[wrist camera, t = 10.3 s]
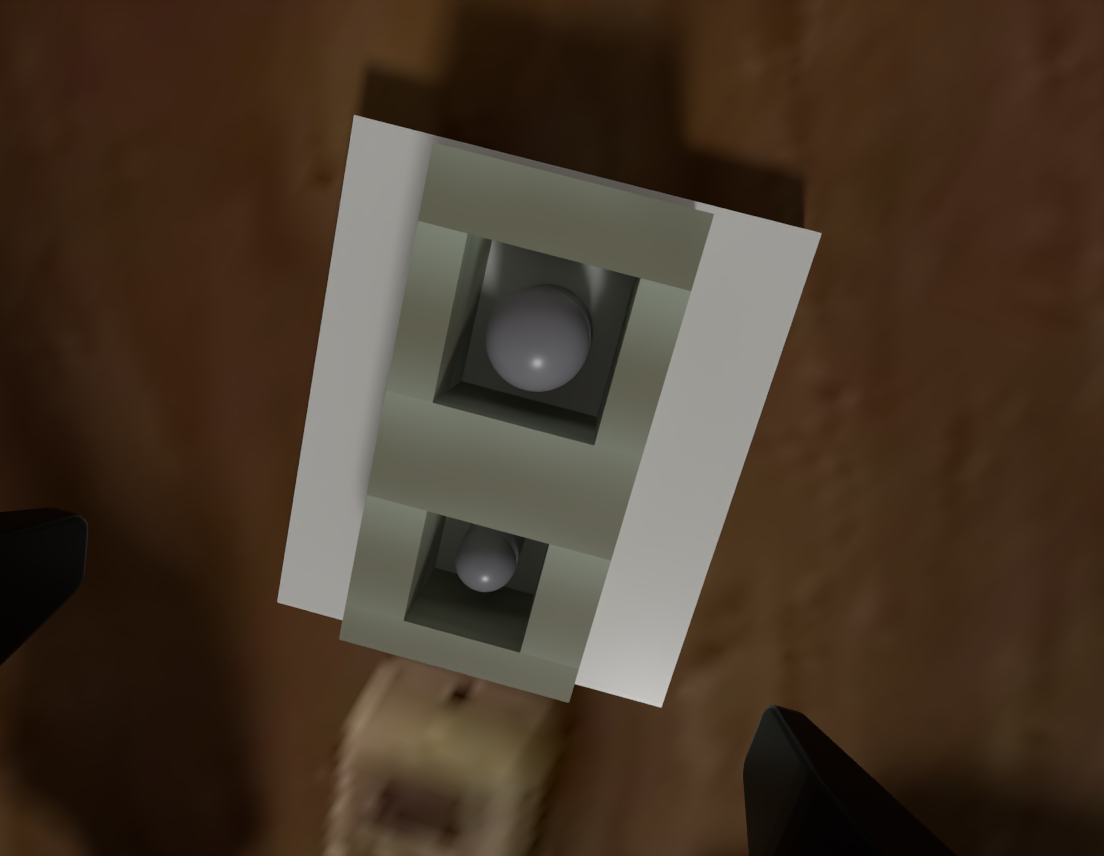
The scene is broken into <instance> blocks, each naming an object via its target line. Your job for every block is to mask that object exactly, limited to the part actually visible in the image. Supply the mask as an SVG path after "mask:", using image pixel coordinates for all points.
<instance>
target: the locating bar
mask: <svg viewBox="0 0 1104 856" xmlns="http://www.w3.org/2000/svg"><path fill="white" fill-rule="evenodd" d="M713 216H714V214H712V213H708V212H704V211H700V210H696V209H692V208H688V207H685V206H681V205H677V204H673V203H669V202H665V201H661V200H657V199H653V198H649V197H645V196H641V195H637V194H633V193H630V192H626V191H622V190H618V189H614V188H610V187H606V186H602V185H598V184H594V183H590V182H586V181H582V180H578V179H575V178H571V177H567V176H563V175H559V174H555V173H551V172H547V171H543V170H539V169H535V168H531V167H527V166H523V165H520V164H516V163H512V162H508V161H504V160H500V159H496V158H492V157H488V156H484V155H480V154H476V153H472V152H468V151H465V150H461V149H457V148H453V147H449V146H445V145H441V144H437V143H433V144H432V149H431V154H430V160H429V165H428V170H427V176H426V181H425V186H424V192H423V197H422V202H421V207H420V213H419V218H418V223H417V229H416V234H415V239H414V245H413V250H412V255H411V260H410V266H409V271H408V276H407V282H406V287H405V292H404V298H403V303H402V308H401V313H400V319H399V324H398V329H397V335H396V340H395V345H394V351H393V356H392V361H391V367H390V372H389V377H388V382H387V388H386V393H385V398H384V404H383V409H382V414H381V420H380V425H379V430H378V435H377V441H376V446H375V451H374V457H373V462H372V467H371V473H370V478H369V483H368V488H367V494H366V499H365V504H364V510H363V515H362V520H361V526H360V531H359V536H358V541H357V547H356V552H355V557H354V563H353V568H352V573H351V579H350V584H349V589H348V594H347V600H346V605H345V610H344V616H343V621H342V626H341V632H340V637H339V640H343V641H347V642H350V643H354V644H357V645H361V646H365V647H368V648H372V649H376V650H379V651H383V652H386V653H390V654H394V655H397V656H401V657H405V658H408V659H412V660H415V661H419V662H423V663H426V664H430V665H434V666H437V667H441V668H444V669H448V670H452V671H455V672H459V673H463V674H466V675H470V676H473V677H477V678H481V679H484V680H488V681H492V682H495V683H499V684H502V685H506V686H510V687H513V688H517V689H521V690H524V691H528V692H531V693H535V694H539V695H542V696H546V697H550V698H553V699H557V700H560V701H564V702H568V703H569V701H570V697H571V694H572V691H573V687H574V684H575V681H576V677H577V674H578V670H579V667H580V664H581V660H582V657H583V654H584V650H585V647H586V644H587V640H588V637H589V633H590V630H591V627H592V623H593V620H594V617H595V613H596V610H597V607H598V603H599V600H600V596H601V593H602V590H603V586H604V583H605V580H606V576H607V573H608V570H609V566H610V563H611V559H612V556H613V553H614V549H615V546H616V543H617V539H618V536H619V533H620V529H621V526H622V522H623V519H624V516H625V512H626V509H627V506H628V502H629V499H630V496H631V492H632V489H633V485H634V482H635V479H636V475H637V472H638V469H639V465H640V462H641V459H642V455H643V452H644V448H645V445H646V442H647V438H648V435H649V432H650V428H651V425H652V422H653V418H654V415H655V411H656V408H657V405H658V401H659V398H660V395H661V391H662V388H663V385H664V381H665V378H666V374H667V371H668V368H669V364H670V361H671V358H672V354H673V351H674V348H675V344H676V341H677V337H678V334H679V331H680V327H681V324H682V321H683V317H684V314H685V311H686V307H687V304H688V300H689V297H690V294H691V290H692V287H693V284H694V280H695V277H696V274H697V270H698V267H699V263H700V260H701V257H702V253H703V250H704V247H705V243H706V240H707V237H708V233H709V230H710V226H711V223H712V220H713ZM492 240H494V241H498V242H502V243H506V244H510V245H514V246H518V247H521V248H525V249H529V250H533V251H537V252H541V253H545V254H549V255H552V256H556V257H560V258H564V259H568V260H572V261H576V262H580V263H584V264H587V265H591V266H595V267H599V268H603V269H607V270H611V271H615V272H618V273H622V274H626V275H630V276H634V277H635V281H634V285H633V288H632V292H631V295H630V299H629V303H628V306H627V310H626V314H625V317H624V321H623V325H622V328H621V332H620V336H619V339H618V343H617V346H616V350H615V354H614V357H613V361H612V365H611V368H610V372H609V376H608V379H607V383H606V386H605V390H604V394H603V397H602V401H601V405H600V408H599V412H598V416H597V417H596V416H592V415H588V414H584V413H580V412H577V411H573V410H569V409H565V408H561V407H558V406H554V405H550V404H546V403H543V402H539V401H535V400H531V399H527V398H524V397H520V396H516V395H512V394H508V393H505V392H501V391H497V390H493V389H489V388H486V387H482V386H478V385H474V384H471V383H467V382H463V381H462V377H463V372H464V368H465V363H466V358H467V354H468V349H469V345H470V340H471V335H472V331H473V326H474V322H475V317H476V313H477V308H478V303H479V299H480V294H481V290H482V285H483V280H484V276H485V271H486V267H487V262H488V257H489V253H490V248H491V244H492ZM446 516H447V517H451V518H455V519H458V520H462V521H466V522H469V523H473V524H477V525H481V526H484V527H488V528H492V529H495V530H499V531H503V532H506V533H510V534H514V535H518V536H521V537H525V538H529V539H532V540H536V541H540V542H544V543H547V544H548V545H547V548H546V552H545V556H544V559H543V563H542V567H541V571H540V574H539V578H538V582H537V585H536V589H535V593H534V595H533V594H529V593H526V592H522V591H518V590H515V589H511V588H507V587H504V586H503V587H501V588H500V589H498V590H495V591H491V592H479V591H476V590H473V589H471V588H469V587H468V586H467V585H465V584H464V583H463V582H462V580H461V579H460V577H459V576H458V574H456V573H452V572H449V571H445V570H441V569H438V568H435V565H436V561H437V556H438V552H439V547H440V543H441V538H442V534H443V529H444V525H445V520H446Z"/></svg>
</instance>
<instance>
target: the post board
mask: <svg viewBox="0 0 1104 856" xmlns="http://www.w3.org/2000/svg"><path fill="white" fill-rule="evenodd" d="M433 143H437V144H441V145H445V146H449V147H453V148H457V149H461V150H465V151H468V152H472V153H476V154H480V155H484V156H488V157H492V158H496V159H500V160H504V161H508V162H512V163H516V164H520V165H523V166H527V167H531V168H535V169H539V170H543V171H547V172H551V173H555V174H559V175H563V176H567V177H571V178H575V179H578V180H582V181H586V182H590V183H594V184H598V185H602V186H606V187H610V188H614V189H618V190H622V191H626V192H630V193H633V194H637V195H641V196H645V197H649V198H653V199H657V200H661V201H665V202H669V203H673V204H677V205H681V206H685V207H688V208H692V209H696V210H700V211H704V212H708V213H712V214H714V216H713V220H712V223H711V226H710V230H709V233H708V237H707V240H706V243H705V247H704V250H703V253H702V257H701V260H700V263H699V267H698V270H697V274H696V277H695V280H694V284H693V287H692V290H691V294H690V297H689V300H688V304H687V307H686V311H685V314H684V317H683V321H682V324H681V327H680V331H679V334H678V337H677V341H676V344H675V348H674V351H673V354H672V358H671V361H670V364H669V368H668V371H667V374H666V378H665V381H664V385H663V388H662V391H661V395H660V398H659V401H658V405H657V408H656V411H655V415H654V418H653V422H652V425H651V428H650V432H649V435H648V438H647V442H646V445H645V448H644V452H643V455H642V459H641V462H640V465H639V469H638V472H637V475H636V479H635V482H634V485H633V489H632V492H631V496H630V499H629V502H628V506H627V509H626V512H625V516H624V519H623V522H622V526H621V529H620V533H619V536H618V539H617V543H616V546H615V549H614V553H613V556H612V559H611V563H610V566H609V570H608V573H607V576H606V580H605V583H604V586H603V590H602V593H601V596H600V600H599V603H598V607H597V610H596V613H595V617H594V620H593V623H592V627H591V630H590V633H589V637H588V640H587V644H586V647H585V650H584V654H583V657H582V660H581V664H580V667H579V670H578V674H577V677H576V681H575V684H577V685H581V686H584V687H588V688H592V689H595V690H599V691H603V692H606V693H610V694H614V695H617V696H621V697H625V698H628V699H632V700H635V701H639V702H643V703H646V704H650V705H654V706H657V707H662V704H663V701H664V698H665V695H666V692H667V689H668V686H669V683H670V680H671V677H672V674H673V671H674V668H675V666H676V663H677V660H678V657H679V654H680V651H681V648H682V645H683V642H684V639H685V636H686V633H687V630H688V627H689V624H690V621H691V618H692V615H693V612H694V609H695V606H696V603H697V601H698V598H699V595H700V592H701V589H702V586H703V583H704V580H705V577H706V574H707V571H708V568H709V565H710V562H711V559H712V556H713V553H714V550H715V547H716V544H717V541H718V538H719V535H720V533H721V530H722V527H723V524H724V521H725V518H726V515H727V512H728V509H729V506H730V503H731V500H732V497H733V494H734V491H735V488H736V485H737V482H738V479H739V476H740V473H741V470H742V467H743V465H744V462H745V459H746V456H747V453H748V450H749V447H750V444H751V441H752V438H753V435H754V432H755V429H756V426H757V423H758V420H759V417H760V414H761V411H762V408H763V405H764V402H765V399H766V397H767V394H768V391H769V388H770V385H771V382H772V379H773V376H774V373H775V370H776V367H777V364H778V361H779V358H780V355H781V352H782V349H783V346H784V343H785V340H786V337H787V334H788V331H789V329H790V326H791V323H792V320H793V317H794V314H795V311H796V308H797V305H798V302H799V299H800V296H801V293H802V290H803V287H804V284H805V281H806V278H807V275H808V272H809V269H810V266H811V264H812V261H813V258H814V255H815V252H816V249H817V246H818V243H819V240H820V237H821V234H822V233H819V232H815V231H811V230H807V229H803V228H799V227H795V226H791V225H787V224H783V223H779V222H775V221H771V220H767V219H763V218H759V217H755V216H751V215H748V214H744V213H740V212H736V211H732V210H728V209H724V208H720V207H716V206H712V205H708V204H704V203H700V202H696V201H692V200H688V199H684V198H680V197H676V196H672V195H668V194H665V193H661V192H657V191H653V190H649V189H645V188H641V187H637V186H633V185H629V184H625V183H621V182H617V181H613V180H609V179H605V178H601V177H597V176H593V175H589V174H586V173H582V172H578V171H574V170H570V169H566V168H562V167H558V166H554V165H550V164H546V163H542V162H538V161H534V160H530V159H526V158H522V157H518V156H514V155H510V154H506V153H503V152H499V151H495V150H491V149H487V148H483V147H479V146H475V145H471V144H467V143H463V142H459V141H455V140H451V139H447V138H443V137H439V136H435V135H431V134H427V133H424V132H420V131H416V130H412V129H408V128H404V127H400V126H396V125H392V124H388V123H384V122H380V121H376V120H372V119H368V118H364V117H360V116H356V115H354V119H353V125H352V132H351V138H350V144H349V151H348V157H347V163H346V170H345V176H344V182H343V189H342V195H341V201H340V208H339V214H338V220H337V227H336V233H335V239H334V246H333V252H332V258H331V265H330V271H329V277H328V284H327V290H326V296H325V303H324V309H323V315H322V322H321V328H320V334H319V341H318V347H317V353H316V360H315V366H314V372H313V379H312V385H311V391H310V398H309V404H308V410H307V417H306V423H305V429H304V436H303V442H302V448H301V455H300V461H299V467H298V474H297V480H296V486H295V493H294V499H293V505H292V512H291V518H290V525H289V531H288V537H287V544H286V550H285V556H284V563H283V569H282V575H281V582H280V588H279V594H278V601H277V602H278V603H282V604H285V605H289V606H292V607H296V608H300V609H303V610H307V611H311V612H314V613H318V614H322V615H325V616H329V617H333V618H336V619H340V620H343V616H344V610H345V605H346V600H347V594H348V589H349V584H350V579H351V573H352V568H353V563H354V557H355V552H356V547H357V541H358V536H359V531H360V526H361V520H362V515H363V510H364V504H365V499H366V494H367V488H368V483H369V478H370V473H371V467H372V462H373V457H374V451H375V446H376V441H377V435H378V430H379V425H380V420H381V414H382V409H383V404H384V398H385V393H386V388H387V382H388V377H389V372H390V367H391V361H392V356H393V351H394V345H395V340H396V335H397V329H398V324H399V319H400V313H401V308H402V303H403V298H404V292H405V287H406V282H407V276H408V271H409V266H410V260H411V255H412V250H413V245H414V239H415V234H416V229H417V223H418V218H419V213H420V207H421V202H422V197H423V192H424V186H425V181H426V176H427V170H428V165H429V160H430V154H431V149H432V144H433ZM634 281H635V277H634V276H630V275H626V274H622V273H618V272H615V271H611V270H607V269H603V268H599V267H595V266H591V265H587V264H584V263H580V262H576V261H572V260H568V259H564V258H560V257H556V256H552V255H549V254H545V253H541V252H537V251H533V250H529V249H525V248H521V247H518V246H514V245H510V244H506V243H502V242H498V241H494V240H492V244H491V248H490V253H489V257H488V262H487V267H486V271H485V276H484V280H483V285H482V290H481V294H480V299H479V303H478V308H477V313H476V317H475V322H474V326H473V331H472V335H471V340H470V345H469V349H468V354H467V358H466V363H465V368H464V372H463V377H462V381H463V382H467V383H471V384H474V385H478V386H482V387H486V388H489V389H493V390H497V391H501V392H505V393H508V394H512V395H516V396H520V397H524V398H527V399H531V400H535V401H539V402H543V403H546V404H550V405H554V406H558V407H561V408H565V409H569V410H573V411H577V412H580V413H584V414H588V415H592V416H596V417H597V416H598V412H599V408H600V405H601V401H602V397H603V394H604V390H605V386H606V383H607V379H608V376H609V372H610V368H611V365H612V361H613V357H614V354H615V350H616V346H617V343H618V339H619V336H620V332H621V328H622V325H623V321H624V317H625V314H626V310H627V306H628V303H629V299H630V295H631V292H632V288H633V285H634ZM547 545H548V544H547V543H544V542H540V541H536V540H532V539H529V538H525V537H521V536H518V535H514V534H510V533H506V532H503V531H499V530H495V529H492V528H488V527H484V526H481V525H477V524H473V523H469V522H466V521H462V520H458V519H455V518H451V517H447V516H446V520H445V525H444V529H443V534H442V538H441V543H440V547H439V552H438V556H437V561H436V565H435V568H438V569H441V570H445V571H449V572H452V573H456V574H458V576H459V577H460V579H461V580H462V582H463V583H464V584H465V585H467V586H468V587H469V588H471V589H473V590H476V591H479V592H491V591H495V590H498V589H500V588H501V587H503V586H504V587H507V588H511V589H515V590H518V591H522V592H526V593H529V594H533V595H534V593H535V589H536V585H537V582H538V578H539V574H540V571H541V567H542V563H543V559H544V556H545V552H546V548H547Z"/></svg>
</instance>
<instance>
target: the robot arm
mask: <svg viewBox="0 0 1104 856" xmlns="http://www.w3.org/2000/svg"><path fill="white" fill-rule="evenodd" d="M87 539H88V524H87V521H86V519H85V518H84V517H83V516H81V515H79V514H76V513H72V512H68V511H65V510H61V509H58V508H39V509H29V510H18V511H8V512H0V666H1V665H2V664H3V663H4V662H5V661H6V660H7V659H8V658H9V657H10V656H11V655H12V654H13V653H14V652H15V651H16V650H17V649H18V648H19V647H20V646H21V645H22V644H23V643H24V642H25V641H26V640H27V639H28V638H29V637H30V636H31V635H32V634H33V633H35V632H36V631H37V630H38V629H39V628H40V627H41V626H42V625H43V624H44V623H45V622H46V621H47V620H48V619H49V618H50V617H51V616H52V615H53V614H54V613H55V612H56V611H57V610H58V609H59V608H60V607H61V606H62V605H63V604H64V603H65V602H66V601H67V600H68V599H69V598H70V597H71V596H72V595H73V594H74V593H75V592H76V591H77V589H78V588H79V587H80V585H81V583H82V581H83V578H84V575H85V567H86V553H87ZM743 782H744V795H745V809H746V822H747V835H748V848H749V856H957V855H956V854H955V853H954V852H953V851H952V850H951V849H950V848H949V847H947V846H946V845H945V844H944V843H943V842H942V841H941V840H940V839H939V838H938V837H937V836H935V835H934V834H933V833H932V832H931V831H930V830H929V829H928V828H927V827H926V826H925V825H924V824H922V823H921V822H920V821H919V820H918V819H917V818H916V817H915V816H914V815H913V814H912V813H910V812H909V811H908V810H907V809H906V808H905V807H904V806H903V805H902V804H901V803H900V802H899V801H897V800H896V799H895V798H894V797H893V796H892V795H891V794H890V793H889V792H888V791H887V790H885V789H884V788H883V787H882V786H881V785H880V784H879V783H878V782H877V781H876V780H875V779H874V778H872V777H871V776H870V775H869V774H868V773H867V772H866V771H865V770H864V769H863V768H862V767H860V766H859V765H858V764H857V763H856V762H855V761H854V760H853V759H852V758H851V757H850V756H848V755H847V754H846V753H845V752H844V751H843V750H842V749H841V748H840V747H839V746H838V745H837V744H835V743H834V742H833V741H832V740H831V739H830V738H829V737H828V736H827V735H826V734H825V733H823V732H822V731H821V730H820V729H819V728H818V727H817V726H816V725H815V724H814V723H813V722H812V721H810V720H809V719H808V718H807V717H806V716H805V715H804V714H802V713H800V712H798V711H794V710H791V709H787V708H783V707H780V706H776V705H771V706H769V707H767V708H766V710H765V711H764V712H763V714H762V717H761V719H760V722H759V724H758V727H757V730H756V732H755V735H754V737H753V740H752V743H751V745H750V748H749V750H748V753H747V755H746V758H745V763H744V769H743Z"/></svg>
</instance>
